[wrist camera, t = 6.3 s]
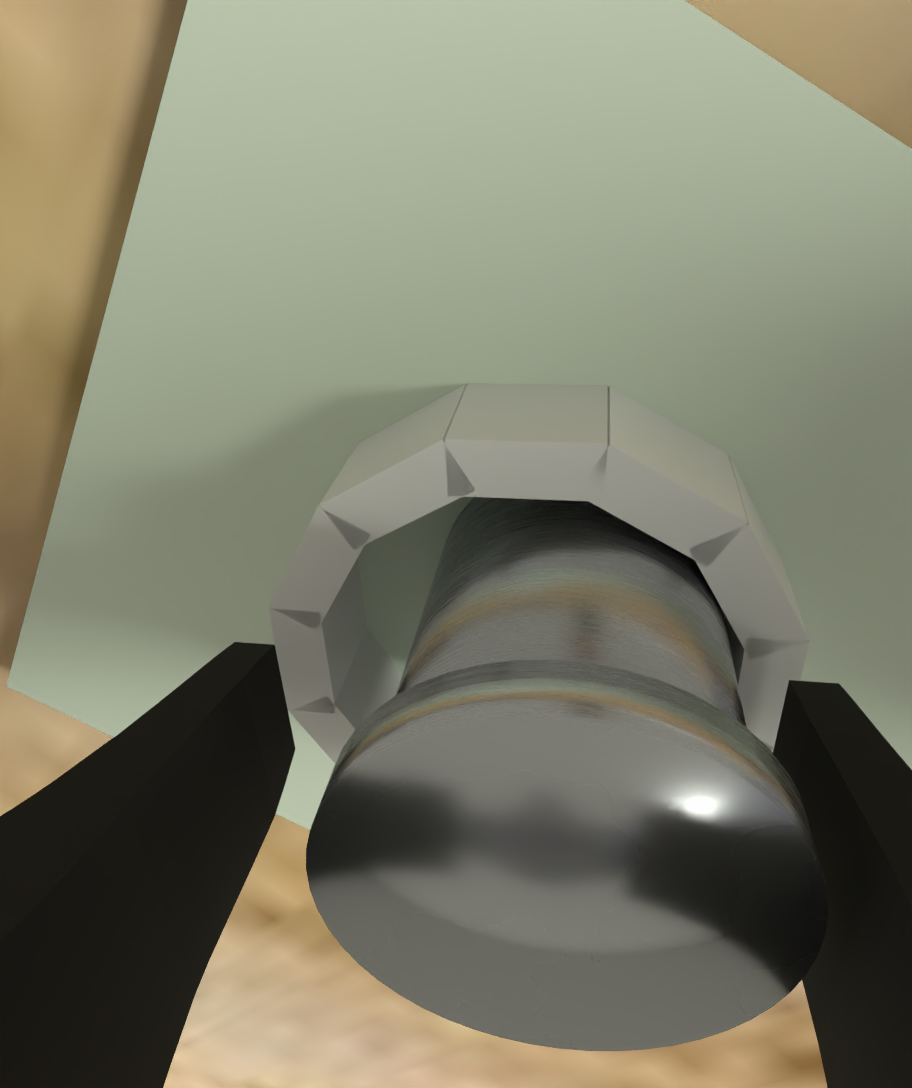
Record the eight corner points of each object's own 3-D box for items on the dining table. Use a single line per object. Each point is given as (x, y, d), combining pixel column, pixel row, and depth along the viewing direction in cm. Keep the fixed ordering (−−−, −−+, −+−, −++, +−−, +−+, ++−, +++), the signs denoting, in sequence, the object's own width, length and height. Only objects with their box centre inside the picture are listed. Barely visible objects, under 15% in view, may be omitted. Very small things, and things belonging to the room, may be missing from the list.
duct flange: (1353, 443, 11) (1543, 542, 9) (656, 969, 19) (662, 1087, 17) (280, -259, 9) (174, -357, 7) (23, 667, 17) (-61, 757, 15)
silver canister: (725, 708, 14) (792, 1076, 9) (434, 696, 15) (347, 1024, 10) (756, 432, 12) (872, 733, 6) (399, 439, 12) (258, 707, 7)
